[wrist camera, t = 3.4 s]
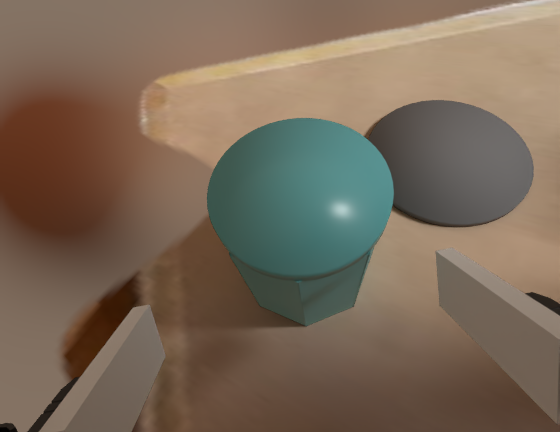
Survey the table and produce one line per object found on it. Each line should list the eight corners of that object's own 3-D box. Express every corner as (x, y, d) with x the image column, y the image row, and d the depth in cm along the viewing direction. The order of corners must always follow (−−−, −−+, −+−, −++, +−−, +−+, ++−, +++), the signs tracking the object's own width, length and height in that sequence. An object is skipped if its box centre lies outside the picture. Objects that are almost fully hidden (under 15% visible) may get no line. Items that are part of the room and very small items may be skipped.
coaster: (423, 85, 36) (425, 80, 35) (560, 153, 30) (565, 149, 29) (334, 164, 32) (334, 160, 31) (471, 260, 26) (474, 257, 26)
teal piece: (383, 232, 28) (414, 141, 18) (343, 347, 24) (358, 307, 14) (276, 197, 31) (256, 103, 21) (225, 294, 27) (172, 232, 17)
